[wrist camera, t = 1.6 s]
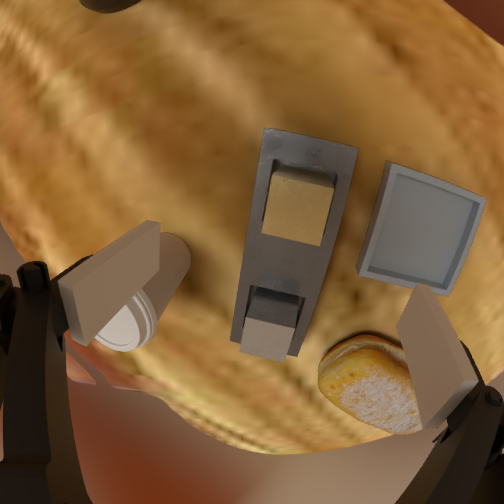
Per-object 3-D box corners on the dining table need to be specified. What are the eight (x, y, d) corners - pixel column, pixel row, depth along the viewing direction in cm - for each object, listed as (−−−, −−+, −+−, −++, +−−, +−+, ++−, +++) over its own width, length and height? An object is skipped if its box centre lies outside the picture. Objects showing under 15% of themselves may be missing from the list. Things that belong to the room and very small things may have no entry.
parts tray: (386, 160, 28) (391, 163, 26) (477, 194, 27) (486, 199, 24) (355, 266, 34) (358, 275, 31) (442, 287, 32) (448, 296, 30)
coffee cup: (202, 226, 36) (140, 287, 22) (202, 292, 40) (154, 368, 26) (137, 217, 37) (60, 266, 23) (142, 279, 41) (82, 341, 28)
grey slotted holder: (270, 128, 29) (264, 128, 26) (352, 146, 28) (358, 148, 25) (237, 322, 40) (229, 340, 37) (299, 337, 39) (297, 356, 36)
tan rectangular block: (282, 163, 30) (272, 175, 22) (328, 173, 29) (334, 189, 22) (273, 208, 32) (261, 233, 25) (318, 218, 31) (319, 246, 24)
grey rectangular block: (259, 278, 36) (245, 317, 29) (300, 287, 35) (295, 328, 28) (253, 310, 38) (239, 351, 31) (290, 319, 37) (283, 362, 30)
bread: (362, 310, 36) (370, 351, 29) (456, 380, 38) (468, 413, 31) (300, 365, 42) (295, 405, 35) (401, 418, 44) (406, 451, 37)
